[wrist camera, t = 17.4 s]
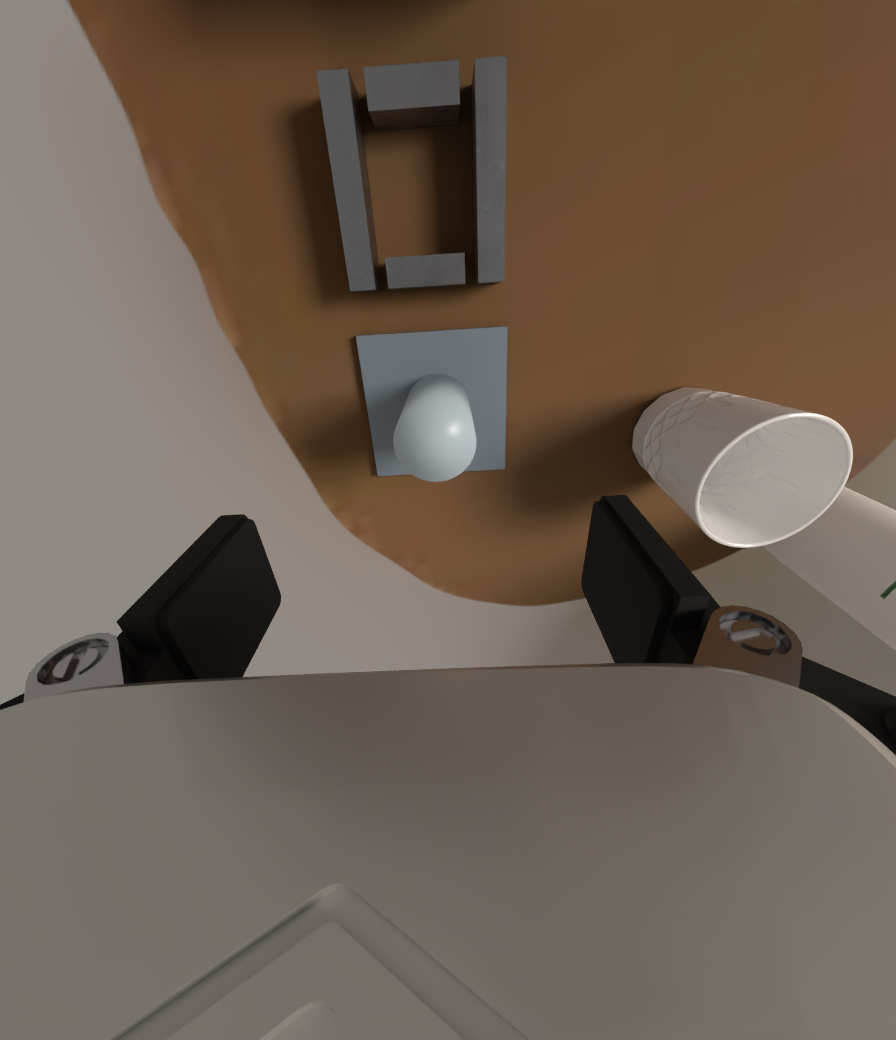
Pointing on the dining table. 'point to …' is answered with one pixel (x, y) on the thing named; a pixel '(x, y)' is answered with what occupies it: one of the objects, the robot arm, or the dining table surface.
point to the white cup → (742, 463)
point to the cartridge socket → (411, 104)
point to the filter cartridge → (435, 429)
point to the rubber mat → (450, 352)
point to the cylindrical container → (850, 560)
